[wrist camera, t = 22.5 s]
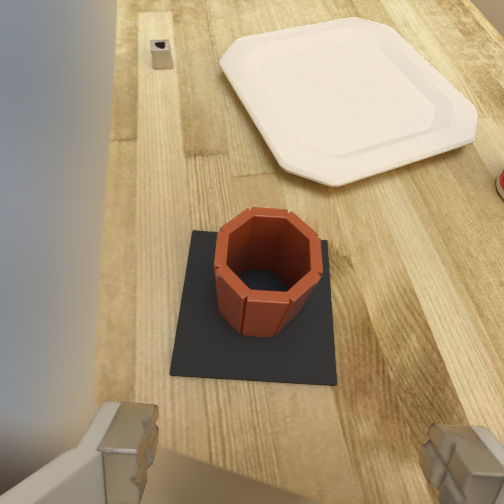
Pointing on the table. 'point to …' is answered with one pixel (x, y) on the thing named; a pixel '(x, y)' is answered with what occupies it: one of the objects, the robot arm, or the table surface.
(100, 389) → the table surface
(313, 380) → the mat
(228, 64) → the plate
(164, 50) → the cube with dark pebbles
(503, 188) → the pill bottle
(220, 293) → the orange hollow octagonal tube
